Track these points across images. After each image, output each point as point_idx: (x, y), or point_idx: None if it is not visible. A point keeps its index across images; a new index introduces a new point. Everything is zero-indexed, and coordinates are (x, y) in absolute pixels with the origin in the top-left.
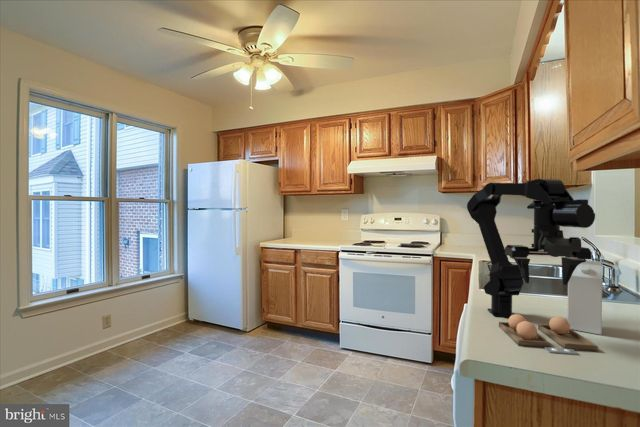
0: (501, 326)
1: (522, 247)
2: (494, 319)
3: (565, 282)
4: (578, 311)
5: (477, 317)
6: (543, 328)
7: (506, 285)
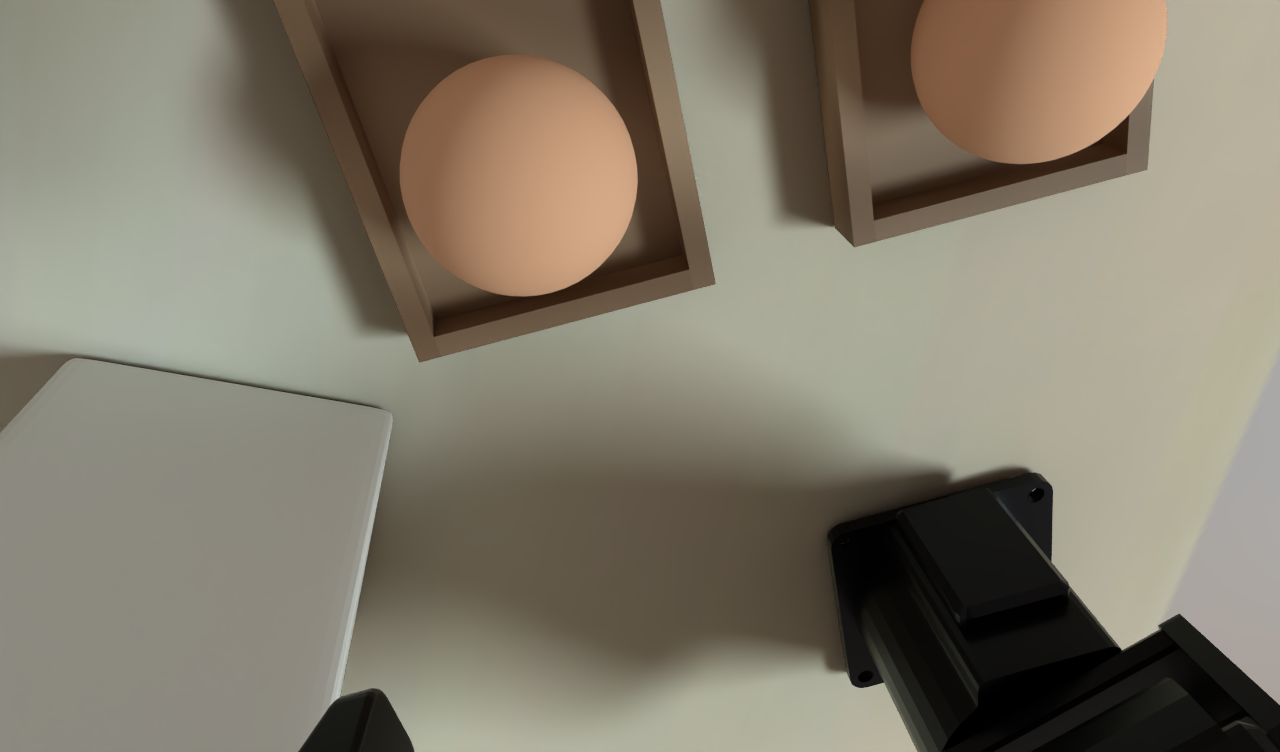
0: None
1: None
2: (1066, 383)
3: (369, 737)
4: (236, 534)
5: (1221, 370)
6: (689, 153)
7: (1218, 737)
